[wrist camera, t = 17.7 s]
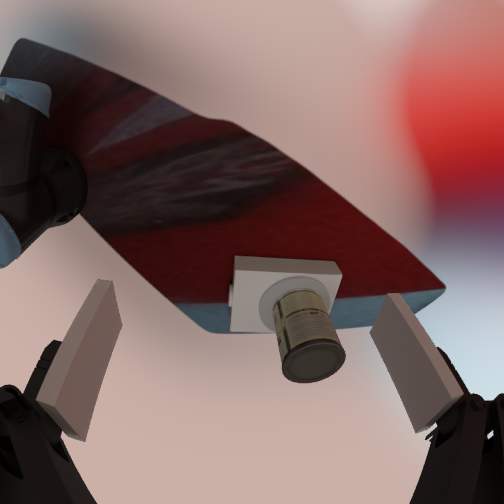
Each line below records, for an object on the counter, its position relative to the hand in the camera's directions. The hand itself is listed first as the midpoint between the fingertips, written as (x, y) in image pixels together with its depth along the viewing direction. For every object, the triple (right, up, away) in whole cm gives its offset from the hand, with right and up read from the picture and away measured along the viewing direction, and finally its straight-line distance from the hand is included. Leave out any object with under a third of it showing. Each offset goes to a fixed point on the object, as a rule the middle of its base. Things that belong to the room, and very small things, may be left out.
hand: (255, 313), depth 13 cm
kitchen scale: (+6, -5, +45) cm, 46 cm away
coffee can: (+9, -8, +41) cm, 42 cm away
